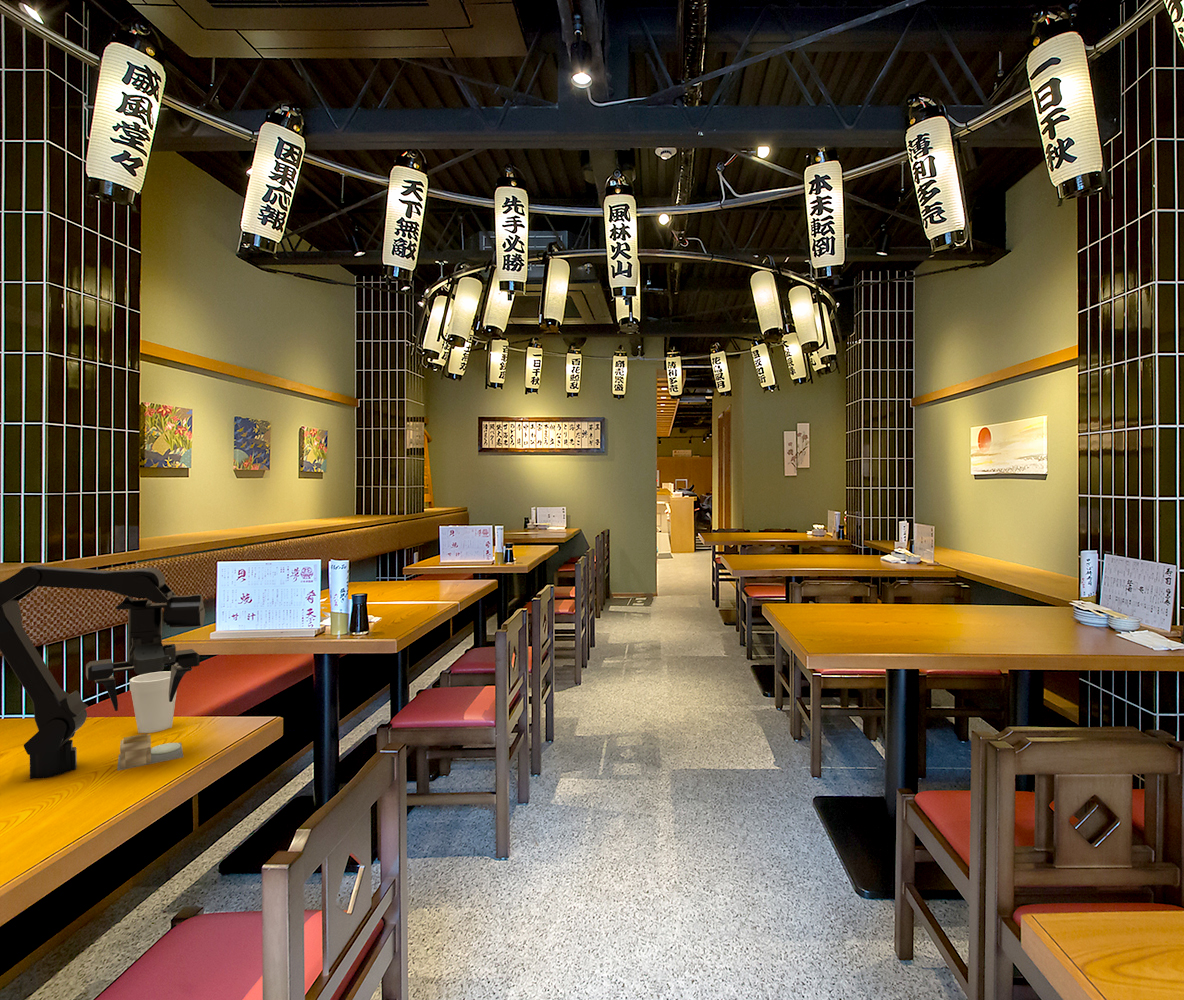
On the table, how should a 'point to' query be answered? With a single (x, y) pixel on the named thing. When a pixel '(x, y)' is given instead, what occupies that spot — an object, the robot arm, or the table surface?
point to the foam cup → (152, 701)
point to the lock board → (162, 754)
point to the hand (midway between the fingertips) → (143, 706)
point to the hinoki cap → (135, 751)
